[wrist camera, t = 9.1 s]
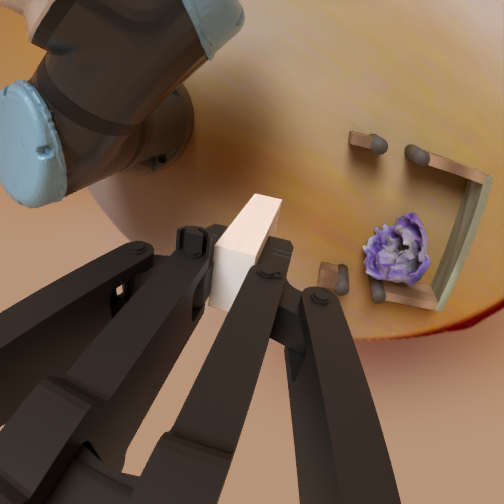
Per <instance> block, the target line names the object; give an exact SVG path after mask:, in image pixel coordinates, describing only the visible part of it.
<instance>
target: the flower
mask: <svg viewBox="0 0 504 504" xmlns="http://www.w3.org/2000/svg"><path fill="white" fill-rule="evenodd" d="M402 217H403V218H398V219H397V221H396V224H395V225H394V226H392V227H389V226H387V225H386V224H385V225H384V226H383V229H382V230H380V229H379V227H376V228H375V229H374V231H375V232H376V235H374V236H372V237H370V238H369V239H368V243H367V245H366V246H365V245H364V246H363V252H364V253H365V255H366V256H367V257H366V258H365V260H364V261H363V263H364V265H365V266H366V273H367V274H368V275H370V276H371V277H373V278H375V279H377V280H386V281H391V282H395V283H399V282H404V283H406V284H407V285H408V286H413V285H414V284H415V283H416V282H418V281H419V280H420V279H421V278H422V276H423V275H424V273H425V272H426V270H427V269H428V268H429V266H430V264H431V259H430V257H429V256H428V254H427V246H428V237H427V233H426V230H425V228H424V226H423V224H422V223H421V221H420V220H419V218H418V217H417V215H416V214H415V213H407V214H405V215H404V216H402Z"/></svg>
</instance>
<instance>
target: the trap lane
mask: <svg viewBox="0 0 504 504" xmlns="http://www.w3.org/2000/svg"><path fill="white" fill-rule="evenodd" d="M348 141H349V142H350V144H352V145H357V146H361V147H365V148H369V149H372V150H373V151H374V152H375V153H376V154H384V153H385V152H386V151H387V149H388V144H387V142H386V140H385V139H383V138H381V137H379V136H378V135H376V134H370V135H366V134H362V133H358V132H354V131H350V133H349V139H348ZM405 155H406V157H407V158H409V159H410V160H412V161H413V162H415V163H416V164H418V165H419V166H422V167H424V166H427V165H429V166H432V167H435V168H438V169H441V170H444V171H447V172H450V173H453V174H456V175H459V176H462V177H465V178H467V179H468V182H467V185H466V189H465V192H464V196H463V199H462V202H461V206H460V209H459V212H458V215H457V218H456V221H455V224H454V227H453V230H452V233H451V236H450V238H449V241H448V244H447V247H446V249H445V252H444V255H443V257H442V260H441V262H440V265H439V267H438V270H437V272H436V274H435V277H434V279H433V282H432V284H431V286H429V285H425V284H420V283H415V284H414V285H413V286H408V285H407V284H406V283H404V282H399V283H395V282H391V281H386V280H377V279H375V278H373V277H371V276H369V281H370V287H371V293H372V299H373V301H374V302H375V303H382V302H384V301H385V300H386V301H391V302H396V303H401V304H406V305H411V306H416V307H421V308H426V309H431V310H436V311H441V312H442V310H443V308H444V306H445V304H446V302H447V300H448V298H449V296H450V294H451V292H452V290H453V288H454V285H455V283H456V281H457V279H458V276H459V274H460V272H461V269H462V267H463V265H464V262H465V260H466V257H467V255H468V252H469V250H470V247H471V245H472V242H473V239H474V237H475V234H476V231H477V229H478V226H479V223H480V220H481V217H482V214H483V211H484V208H485V205H486V201H487V198H488V195H489V191H490V188H491V184H492V181H493V178H492V177H491V176H489V175H487V174H485V173H483V172H481V171H479V170H477V169H475V168H472V167H469V166H467V165H464V164H461V163H459V162H456V161H453V160H450V159H447V158H444V157H442V156H439V155H436V154H433V153H429V152H427V151H425V150H423V149H421V148H419V147H417V146H414V145H408V146H406V148H405ZM318 286H320V287H325V288H329V289H334V290H335V292H336V294H338V295H340V296H343V295H346V294H347V293H348V292H349V279H348V268H347V266H346V265H344V264H339V265H335V264H330V263H326V262H321V265H320V269H319V279H318Z"/></svg>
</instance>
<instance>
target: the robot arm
mask: <svg viewBox="0 0 504 504" xmlns="http://www.w3.org/2000/svg"><path fill="white" fill-rule="evenodd" d="M0 6H2V7H4V8H7V9H9V10H12V11H13V12H15V13H18V14H20V15H22V16H23V17H24V19H25V22H26V30H27V38H28V42H30V43H32V44H34V45H36V46H38V47H40V48H42V49H44V50H46V51H47V53H46V54H45V56H44V58H43V59H42V61H41V62H40V64H39V66H38V67H37V69H36V71H35V72H34V74H33V76H32V77H31V78H30V79H29V80H28V81H26V80H17V81H15V82H14V83H13V84H11V85H8V86H6V87H4V88H3V89H2V90H1V91H0V182H1V184H2V186H3V188H4V189H5V190H6V192H7V193H8V194H9V195H10V196H11V197H12V199H13V200H15V201H16V202H17V203H19V204H21V205H24V206H26V207H29V208H38V207H42V206H44V205H47V204H50V203H53V202H58V201H61V200H62V198H63V197H65V196H67V195H69V194H72V193H74V192H76V191H78V190H80V189H82V188H84V187H86V186H89V185H91V184H93V183H95V182H97V181H100V180H102V179H104V178H106V177H109V176H111V175H113V174H115V173H118V172H119V173H127V174H135V175H142V174H149V173H152V172H155V171H157V170H160V169H162V168H164V167H166V166H168V165H169V164H171V163H172V162H174V161H175V160H176V159H177V158H178V157H179V156H180V154H181V153H182V152H183V150H184V149H185V147H186V145H187V143H188V141H189V139H190V136H191V132H192V127H193V107H192V103H191V99H190V96H189V94H188V92H187V90H186V88H185V87H184V85H183V84H182V83H183V82H184V81H185V80H186V79H187V78H188V77H189V76H191V75H192V74H193V73H194V72H195V71H196V70H197V69H198V68H200V67H201V66H202V65H203V64H204V63H205V62H207V61H208V60H209V61H210V60H212V59H213V58H214V54H215V53H216V52H217V51H218V50H219V49H220V48H221V47H222V46H223V45H225V44H226V43H227V42H228V41H229V40H230V39H231V38H232V37H234V36H235V35H236V34H237V33H238V32H239V31H240V30H241V28H242V26H243V24H244V20H245V15H244V10H243V8H242V6H241V4H240V2H239V1H238V0H0ZM281 203H282V200H281V199H277V198H273V197H268V196H264V195H260V194H254V195H253V197H252V198H251V199H250V200H249V202H248V203H247V204H246V205H245V207H244V208H243V209H242V211H241V212H240V213H239V214H238V216H237V217H236V218H235V219H234V221H233V222H232V223H231V225H230V226H229V227H227V226H223V225H219V224H214V225H211V226H209V227H207V228H206V229H205V228H202V227H198V226H185V227H181V228H179V229H177V239H176V250H175V251H174V252H173V253H172V254H171V255H170V256H163V255H154V248H153V246H152V245H150V244H149V243H145V242H142V241H140V242H139V241H135V242H129V243H126V244H124V245H122V246H120V247H118V248H116V249H114V250H112V251H110V252H108V253H106V254H105V255H102V256H101V257H99V258H97V259H95V260H93V261H91V262H89V263H87V264H85V265H84V266H82V267H80V268H78V269H76V270H75V271H72V272H71V273H69V274H67V275H65V276H63V277H62V278H60V279H58V280H56V281H54V282H53V283H51V284H49V285H47V286H45V287H44V288H42V289H40V290H38V291H37V292H35V293H33V294H31V295H30V296H28V297H26V298H25V299H23V300H21V301H20V302H18V303H16V304H15V305H13V306H11V307H9V308H8V309H6V310H4V311H3V312H1V313H0V427H1V426H2V425H4V424H5V426H4V427H3V428H2V430H1V431H0V504H217V503H218V500H219V497H220V494H221V491H222V488H223V485H224V483H225V480H226V476H227V474H228V471H229V468H230V465H231V462H232V459H233V456H234V453H235V450H236V447H237V443H238V440H239V437H240V434H241V431H242V428H243V425H244V422H245V418H246V415H247V412H248V409H249V406H250V402H251V399H252V396H253V393H254V389H255V386H256V383H257V379H258V376H259V373H260V369H261V366H262V362H263V359H264V355H265V352H266V349H267V345H268V342H269V338H271V339H273V340H275V341H277V342H279V343H281V344H283V345H285V349H284V353H285V361H286V371H287V379H288V389H289V398H290V407H291V415H292V425H293V436H294V445H295V455H296V466H297V477H298V487H299V498H300V504H401V502H400V497H399V493H398V489H397V485H396V481H395V477H394V473H393V469H392V465H391V461H390V458H389V454H388V450H387V447H386V443H385V439H384V436H383V432H382V429H381V426H380V422H379V419H378V416H377V412H376V409H375V406H374V402H373V399H372V396H371V393H370V389H369V386H368V383H367V380H366V377H365V374H364V371H363V368H362V365H361V362H360V359H359V356H358V353H357V350H356V347H355V344H354V341H353V338H352V335H351V332H350V330H349V327H348V324H347V321H346V318H345V316H344V313H343V310H342V307H341V305H340V302H339V300H338V298H337V296H336V295H335V294H333V293H332V292H331V291H329V290H327V289H325V288H321V287H308V288H305V289H304V290H303V291H302V292H301V291H299V290H297V289H295V288H294V287H293V286H291V285H290V284H289V282H288V281H287V279H286V275H287V271H288V267H289V263H290V259H291V255H292V251H293V245H292V243H291V242H290V241H288V240H284V239H280V238H276V237H275V232H276V227H277V223H278V218H279V213H280V208H281ZM120 285H122V289H123V292H122V293H121V294H119V295H117V293H116V288H117V287H119V286H120ZM208 296H209V303H208V306H211V307H215V308H218V309H221V310H225V311H228V314H227V316H226V318H225V321H224V323H223V325H222V327H221V329H220V331H219V333H218V335H217V337H216V339H215V341H214V344H213V345H212V347H211V350H210V352H209V354H208V356H207V358H206V360H205V362H204V364H203V366H202V368H201V370H200V372H199V374H198V376H197V378H196V380H195V382H194V384H193V387H192V389H191V391H190V393H189V395H188V397H187V399H186V401H185V403H184V405H183V407H182V409H181V411H180V413H179V415H178V417H177V419H176V422H175V423H174V425H173V427H172V429H171V430H170V431H168V432H165V433H164V434H163V435H162V436H161V437H160V439H159V441H158V443H157V444H156V446H155V448H154V450H153V452H152V454H151V456H150V458H149V460H148V462H147V464H146V466H145V468H144V470H143V472H142V474H141V476H134V475H130V474H125V473H121V471H122V469H123V466H124V462H125V454H126V451H127V448H128V446H129V444H130V443H131V441H132V439H133V437H134V436H135V434H136V432H137V430H138V428H139V427H140V425H141V423H142V421H143V419H144V418H145V416H146V414H147V412H148V411H149V409H150V407H151V405H152V403H153V401H154V400H155V398H156V396H157V394H158V393H159V391H160V389H161V387H162V386H163V384H164V382H165V380H166V378H167V377H168V375H169V373H170V371H171V370H172V368H173V366H174V364H175V362H176V361H177V359H178V357H179V355H180V353H181V352H182V350H183V348H184V346H185V345H186V343H187V341H188V340H189V338H190V336H191V334H192V333H193V331H194V329H195V327H196V326H197V324H198V322H199V320H200V319H201V317H202V315H203V313H204V308H205V301H206V300H207V298H208Z"/></svg>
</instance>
